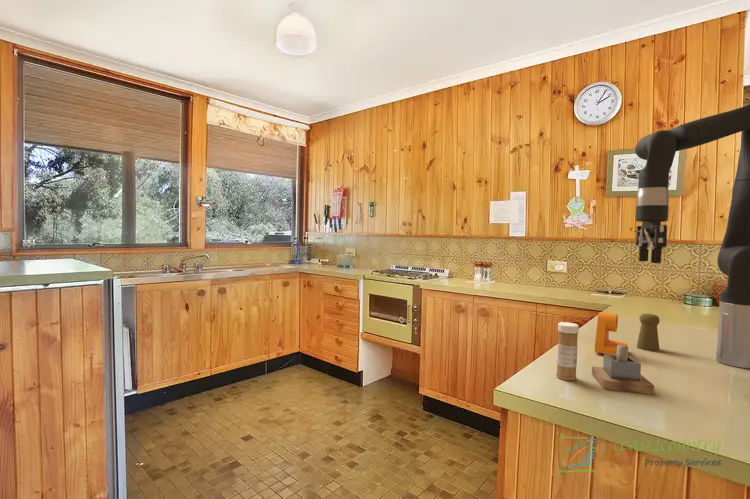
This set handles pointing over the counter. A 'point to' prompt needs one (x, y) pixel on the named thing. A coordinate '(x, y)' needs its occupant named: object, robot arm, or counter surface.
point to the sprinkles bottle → (567, 351)
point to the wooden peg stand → (622, 384)
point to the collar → (622, 368)
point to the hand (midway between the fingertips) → (649, 262)
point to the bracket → (606, 334)
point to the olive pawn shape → (648, 333)
